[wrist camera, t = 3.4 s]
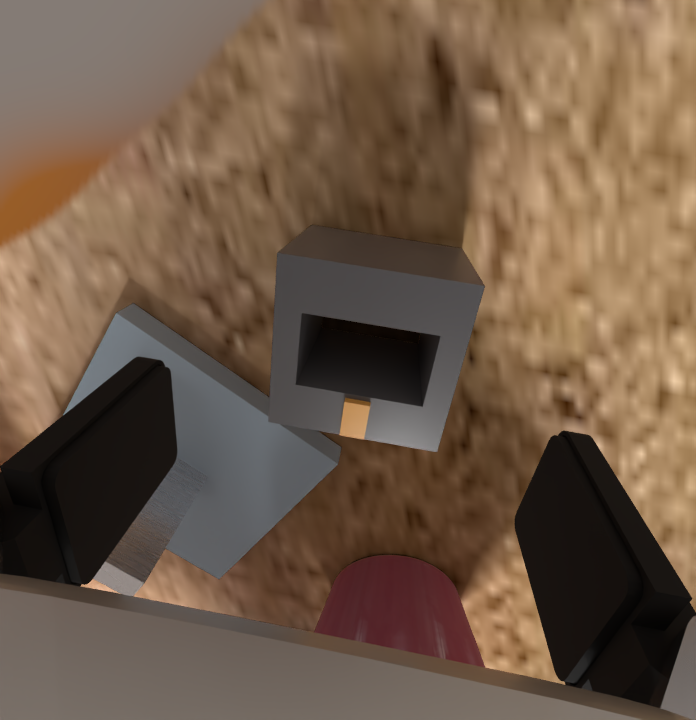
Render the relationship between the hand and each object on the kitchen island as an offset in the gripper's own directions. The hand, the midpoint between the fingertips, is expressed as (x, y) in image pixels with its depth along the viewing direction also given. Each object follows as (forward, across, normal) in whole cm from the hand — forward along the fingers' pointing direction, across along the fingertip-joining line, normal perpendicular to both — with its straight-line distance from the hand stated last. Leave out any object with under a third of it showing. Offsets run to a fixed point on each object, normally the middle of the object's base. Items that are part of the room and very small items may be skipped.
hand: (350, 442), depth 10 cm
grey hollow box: (+12, 0, +1) cm, 12 cm away
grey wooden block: (+10, +10, +12) cm, 19 cm away
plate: (+11, +10, +12) cm, 20 cm away
